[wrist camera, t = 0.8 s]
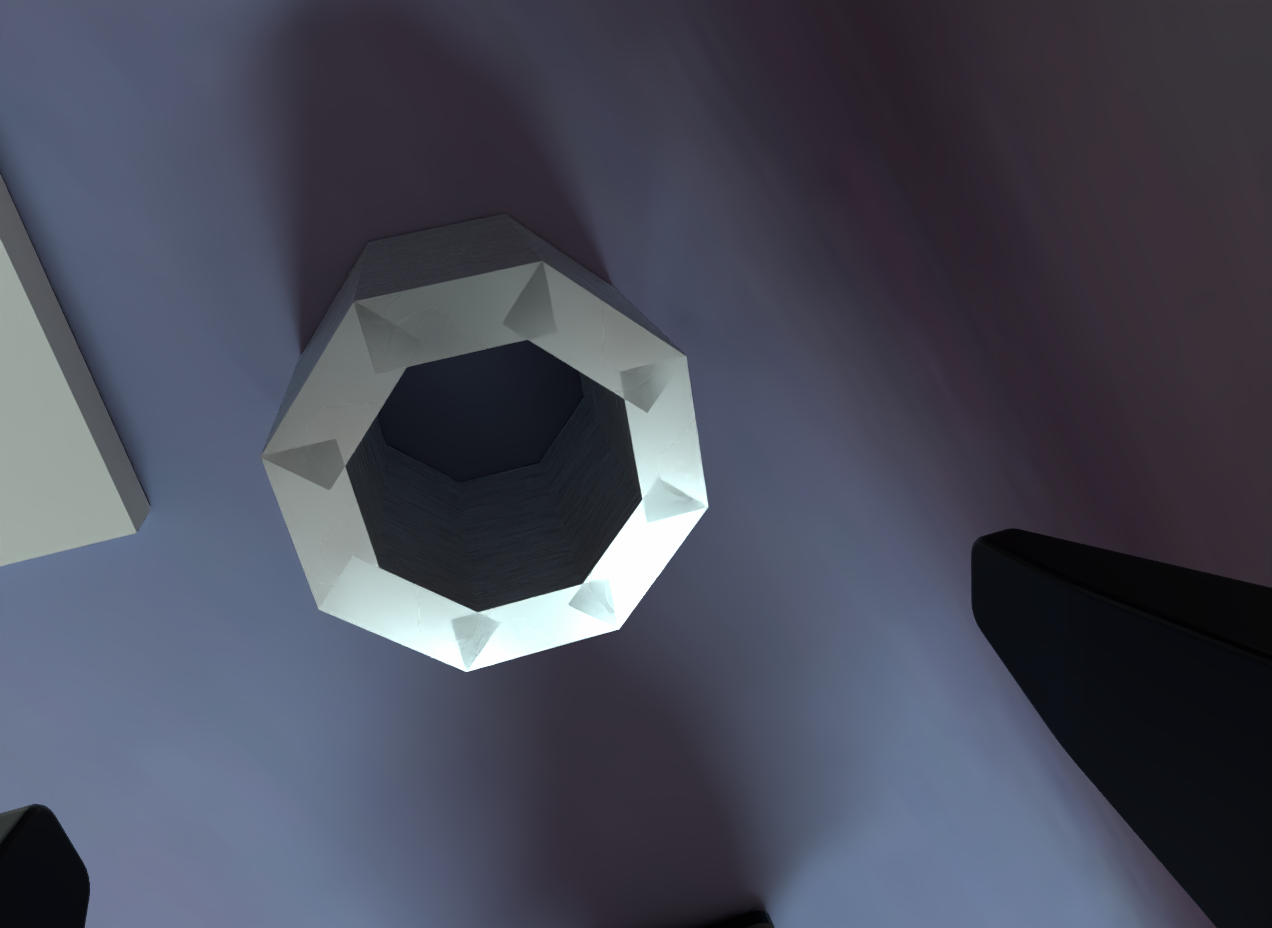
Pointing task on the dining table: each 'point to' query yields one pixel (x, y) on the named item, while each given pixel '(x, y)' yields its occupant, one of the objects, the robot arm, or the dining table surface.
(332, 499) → the grey hollow octagonal cylinder
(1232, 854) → the robot arm
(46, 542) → the post fixture
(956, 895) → the dining table surface
